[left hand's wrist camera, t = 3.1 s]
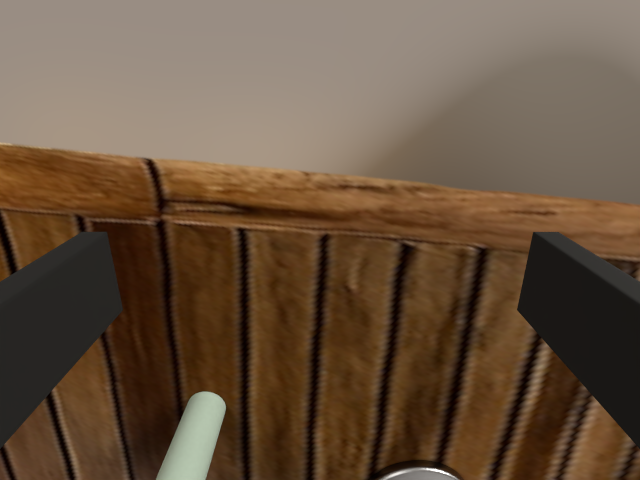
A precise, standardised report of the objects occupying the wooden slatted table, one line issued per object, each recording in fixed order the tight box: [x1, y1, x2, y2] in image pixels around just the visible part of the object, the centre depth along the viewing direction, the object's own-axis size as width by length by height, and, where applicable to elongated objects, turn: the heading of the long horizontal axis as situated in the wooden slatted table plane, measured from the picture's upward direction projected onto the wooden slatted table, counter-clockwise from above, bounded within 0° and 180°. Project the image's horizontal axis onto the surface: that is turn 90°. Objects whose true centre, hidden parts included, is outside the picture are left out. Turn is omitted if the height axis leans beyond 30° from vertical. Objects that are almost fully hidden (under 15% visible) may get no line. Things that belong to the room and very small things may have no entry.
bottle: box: [156, 392, 226, 480], centre depth 42 cm, size 5×5×17 cm
